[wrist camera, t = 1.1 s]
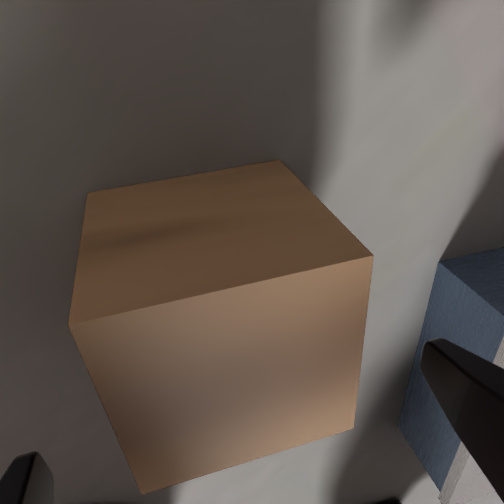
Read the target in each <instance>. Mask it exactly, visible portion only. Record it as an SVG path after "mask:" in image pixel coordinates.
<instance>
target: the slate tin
mask: <svg viewBox="0 0 504 504" xmlns="http://www.w3.org/2000/svg"><path fill="white" fill-rule="evenodd" d="M435 338H444V339H446V340H448V341H450V342H452V343H454V344H456V345H458V346H460V347H462V348H464V349H466V350H468V351H470V352H472V353H474V354H476V355H478V356H480V357H482V358H484V359H486V360H488V361H490V362H492V363H494V364H495V365H497V366H499V367H501V368H503V369H504V247H503V248H498V249H494V250H489V251H485V252H480V253H476V254H471V255H467V256H462V257H458V258H453V259H449V260H444V261H440V262H438V266H437V270H436V274H435V278H434V282H433V286H432V290H431V294H430V298H429V302H428V306H427V310H426V315H425V319H424V323H423V327H422V331H421V335H420V339H419V343H418V347H417V351H416V355H415V359H414V363H413V367H412V371H411V375H410V379H409V383H408V387H407V391H406V395H405V399H404V403H403V408H402V412H401V416H400V420H399V424H398V428H399V429H400V431H401V432H402V434H403V436H404V437H405V439H406V440H407V442H408V443H409V445H410V446H411V448H412V449H413V451H414V452H415V454H416V456H417V457H418V459H419V460H420V462H421V463H422V465H423V466H424V468H425V469H426V471H427V472H428V474H429V475H430V477H431V479H432V480H433V482H434V483H435V485H436V486H437V488H438V489H439V491H440V494H439V497H438V499H439V500H440V502H441V504H464V503H466V502H469V501H472V500H474V499H477V498H480V497H483V496H485V495H488V494H491V493H494V492H496V491H495V489H494V488H493V487H492V485H491V484H490V482H489V481H488V479H487V478H486V476H485V475H484V473H483V472H482V471H481V469H480V468H479V466H478V465H477V463H476V462H475V460H474V459H473V457H472V456H471V455H470V453H469V452H468V450H467V449H466V447H465V446H464V444H463V443H462V441H461V440H460V439H459V437H458V436H457V434H456V433H455V431H454V429H453V428H452V426H451V424H450V423H449V421H448V419H447V418H446V416H445V414H444V412H443V410H442V409H441V407H440V405H439V403H438V401H437V399H436V398H435V396H434V394H433V392H432V390H431V389H430V387H429V385H428V383H427V381H426V380H425V378H424V376H423V374H422V372H421V369H420V359H421V355H422V350H423V346H424V343H425V342H426V341H428V340H432V339H435Z"/></svg>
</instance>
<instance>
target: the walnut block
mask: <svg viewBox="0 0 504 504" xmlns="http://www.w3.org/2000/svg"><path fill="white" fill-rule="evenodd" d="M373 257H374V255H373V254H372V253H371V252H370V251H369V250H368V249H367V248H366V247H365V246H364V245H363V244H362V243H361V242H360V241H359V240H358V239H357V238H356V237H355V236H354V235H353V234H352V233H351V232H350V231H349V230H348V229H347V228H346V227H345V226H344V225H343V224H342V223H341V222H340V221H339V220H338V219H337V218H336V217H335V216H334V214H333V213H332V212H331V211H330V210H329V209H328V208H327V207H326V206H325V205H324V204H323V203H322V202H321V201H320V200H319V199H318V198H317V197H316V196H315V195H314V194H313V193H312V192H311V191H310V190H309V189H308V188H307V187H306V186H305V185H304V184H303V183H302V182H301V181H300V180H299V179H298V178H297V177H296V176H295V175H294V174H293V173H292V172H291V171H290V170H289V169H288V168H287V167H286V166H285V165H284V164H283V163H282V162H281V161H280V160H275V161H269V162H263V163H257V164H252V165H246V166H240V167H234V168H228V169H222V170H217V171H211V172H205V173H199V174H193V175H187V176H182V177H176V178H170V179H164V180H158V181H152V182H147V183H141V184H135V185H129V186H123V187H118V188H112V189H106V190H100V191H94V192H88V193H87V199H86V206H85V213H84V220H83V226H82V233H81V240H80V247H79V254H78V260H77V267H76V274H75V281H74V287H73V294H72V301H71V308H70V314H69V321H68V327H69V329H70V331H71V334H72V336H73V338H74V340H75V343H76V345H77V347H78V350H79V352H80V354H81V357H82V359H83V361H84V363H85V366H86V368H87V370H88V373H89V375H90V377H91V379H92V382H93V384H94V386H95V389H96V391H97V393H98V396H99V398H100V400H101V402H102V405H103V407H104V409H105V412H106V414H107V416H108V419H109V421H110V423H111V425H112V428H113V430H114V432H115V435H116V437H117V439H118V441H119V444H120V446H121V448H122V451H123V453H124V455H125V458H126V460H127V462H128V464H129V467H130V469H131V471H132V474H133V476H134V478H135V481H136V483H137V485H138V487H139V490H140V492H141V494H142V495H144V494H147V493H150V492H153V491H156V490H159V489H163V488H166V487H169V486H172V485H175V484H178V483H182V482H185V481H188V480H191V479H194V478H198V477H201V476H204V475H207V474H210V473H213V472H217V471H220V470H223V469H226V468H229V467H232V466H236V465H239V464H242V463H245V462H248V461H252V460H255V459H258V458H261V457H264V456H267V455H271V454H274V453H277V452H280V451H283V450H287V449H290V448H293V447H296V446H299V445H302V444H306V443H309V442H312V441H315V440H318V439H321V438H325V437H328V436H331V435H334V434H337V433H341V432H344V431H347V430H350V429H353V428H354V420H355V411H356V403H357V394H358V386H359V377H360V368H361V360H362V351H363V343H364V334H365V326H366V317H367V308H368V300H369V291H370V283H371V274H372V265H373Z"/></svg>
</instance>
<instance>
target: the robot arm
mask: <svg viewBox="0 0 504 504" xmlns="http://www.w3.org/2000/svg"><path fill="white" fill-rule="evenodd" d="M420 369H421V372H422V374H423V376H424V378H425V380H426V381H427V383H428V385H429V387H430V389H431V390H432V392H433V394H434V396H435V398H436V399H437V401H438V403H439V405H440V407H441V409H442V410H443V412H444V414H445V416H446V418H447V419H448V421H449V423H450V424H451V426H452V428H453V429H454V431H455V433H456V434H457V436H458V437H459V439H460V440H461V441H462V443H463V444H464V446H465V447H466V449H467V450H468V452H469V453H470V455H471V456H472V457H473V459H474V460H475V462H476V463H477V465H478V466H479V468H480V469H481V471H482V472H483V473H484V475H485V476H486V478H487V479H488V481H489V482H490V484H491V485H492V487H493V488H494V489H495V491H496V492H497V494H498V495H499V497H500V498H501V500H502V501H503V503H504V369H503V368H501V367H499V366H497V365H495V364H494V363H492V362H490V361H488V360H486V359H484V358H482V357H480V356H478V355H476V354H474V353H472V352H470V351H468V350H466V349H464V348H462V347H460V346H458V345H456V344H454V343H452V342H450V341H448V340H446V339H444V338H435V339H432V340H428V341H426V342H425V343H424V346H423V350H422V355H421V359H420ZM0 504H53V476H52V472H51V470H50V469H49V467H48V466H47V464H46V462H45V461H44V459H43V458H42V456H41V455H40V453H39V452H36V451H34V452H30V453H27V454H23V455H20V456H17V457H16V458H15V459H14V460H13V461H12V462H11V464H10V465H9V467H8V468H7V470H6V471H5V473H4V474H3V476H2V478H1V479H0ZM384 504H402V503H401V501H400V500H399V499H395V500H392V501H390V502H387V503H384Z"/></svg>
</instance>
